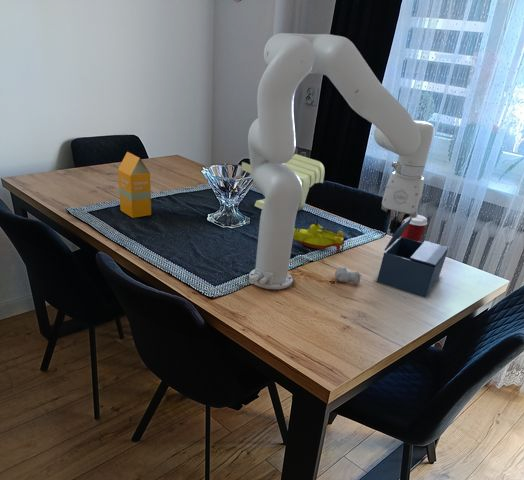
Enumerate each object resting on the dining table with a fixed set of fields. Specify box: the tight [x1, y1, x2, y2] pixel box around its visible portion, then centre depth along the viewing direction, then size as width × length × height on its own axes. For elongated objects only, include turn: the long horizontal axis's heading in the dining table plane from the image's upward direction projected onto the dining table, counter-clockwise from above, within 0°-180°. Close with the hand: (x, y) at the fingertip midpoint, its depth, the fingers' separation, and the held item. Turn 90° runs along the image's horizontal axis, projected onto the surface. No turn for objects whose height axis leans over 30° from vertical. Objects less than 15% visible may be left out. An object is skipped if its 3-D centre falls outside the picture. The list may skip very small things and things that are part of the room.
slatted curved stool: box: [241, 153, 326, 212], centre depth 192 cm, size 30×16×18 cm, turn 136°
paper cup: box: [400, 214, 428, 242], centre depth 164 cm, size 8×8×14 cm
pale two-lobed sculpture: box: [334, 266, 361, 286], centre depth 146 cm, size 4×8×5 cm
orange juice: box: [117, 151, 152, 219], centre depth 172 cm, size 8×9×20 cm
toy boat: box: [293, 218, 346, 253], centre depth 164 cm, size 6×18×10 cm, turn 78°
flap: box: [384, 218, 412, 252], centre depth 148 cm, size 17×7×1 cm
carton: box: [376, 236, 449, 298], centre depth 150 cm, size 17×15×10 cm
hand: (393, 232), depth 149 cm, fingers closed
